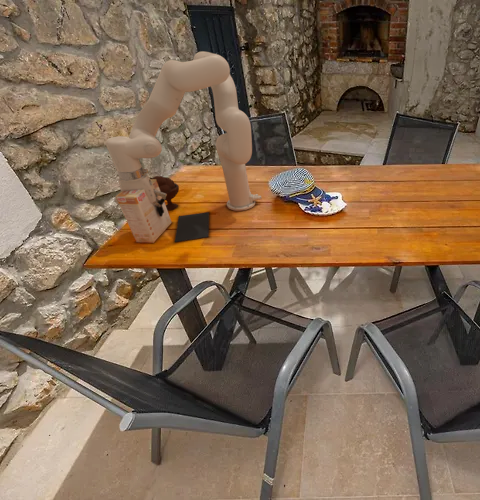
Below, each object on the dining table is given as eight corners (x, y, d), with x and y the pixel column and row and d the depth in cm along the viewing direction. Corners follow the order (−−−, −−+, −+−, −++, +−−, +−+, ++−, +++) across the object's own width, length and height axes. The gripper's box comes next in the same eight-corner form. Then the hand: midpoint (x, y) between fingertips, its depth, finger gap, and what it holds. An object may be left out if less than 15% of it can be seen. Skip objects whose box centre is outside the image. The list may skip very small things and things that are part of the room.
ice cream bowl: (174, 214, 137) (163, 182, 128) (152, 211, 139) (139, 179, 130) (189, 203, 146) (180, 172, 137) (167, 200, 147) (157, 169, 138)
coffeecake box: (155, 221, 132) (138, 178, 120) (172, 222, 132) (157, 178, 120) (135, 242, 120) (113, 195, 108) (154, 243, 120) (134, 196, 108)
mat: (209, 212, 139) (208, 212, 139) (208, 237, 124) (208, 236, 124) (179, 216, 136) (178, 216, 136) (174, 242, 121) (174, 241, 120)
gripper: (160, 167, 117) (174, 208, 127) (105, 172, 112) (124, 214, 122) (157, 175, 111) (172, 217, 121) (99, 180, 106) (120, 224, 116)
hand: (148, 216), depth 122 cm, fingers closed on coffeecake box, 8 cm apart
